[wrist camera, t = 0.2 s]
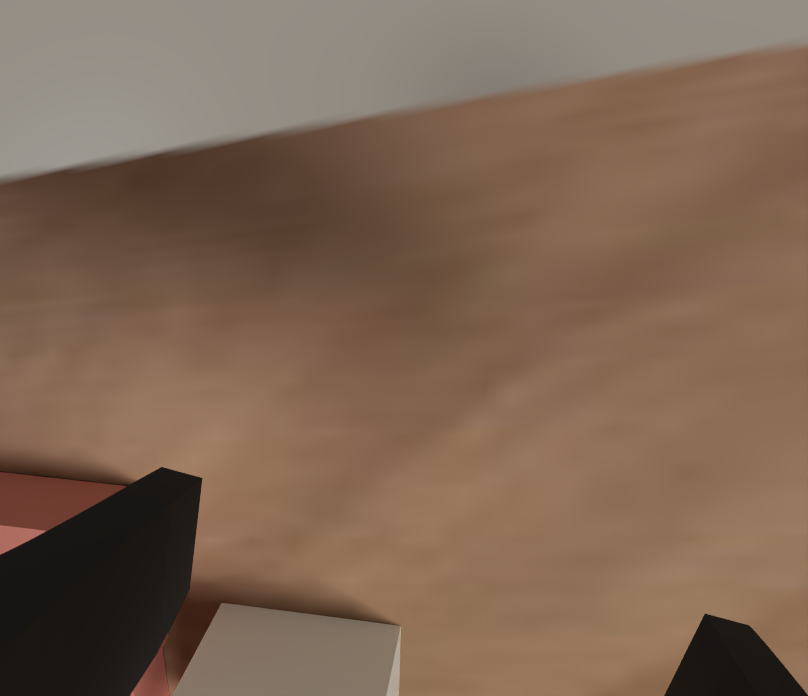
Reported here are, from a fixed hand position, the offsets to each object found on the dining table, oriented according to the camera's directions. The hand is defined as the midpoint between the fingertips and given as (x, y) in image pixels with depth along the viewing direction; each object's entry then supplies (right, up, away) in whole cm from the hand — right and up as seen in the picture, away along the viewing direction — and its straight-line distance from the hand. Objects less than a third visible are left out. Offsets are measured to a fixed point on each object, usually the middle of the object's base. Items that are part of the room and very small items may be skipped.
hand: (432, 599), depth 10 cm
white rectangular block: (-4, -7, +15) cm, 17 cm away
